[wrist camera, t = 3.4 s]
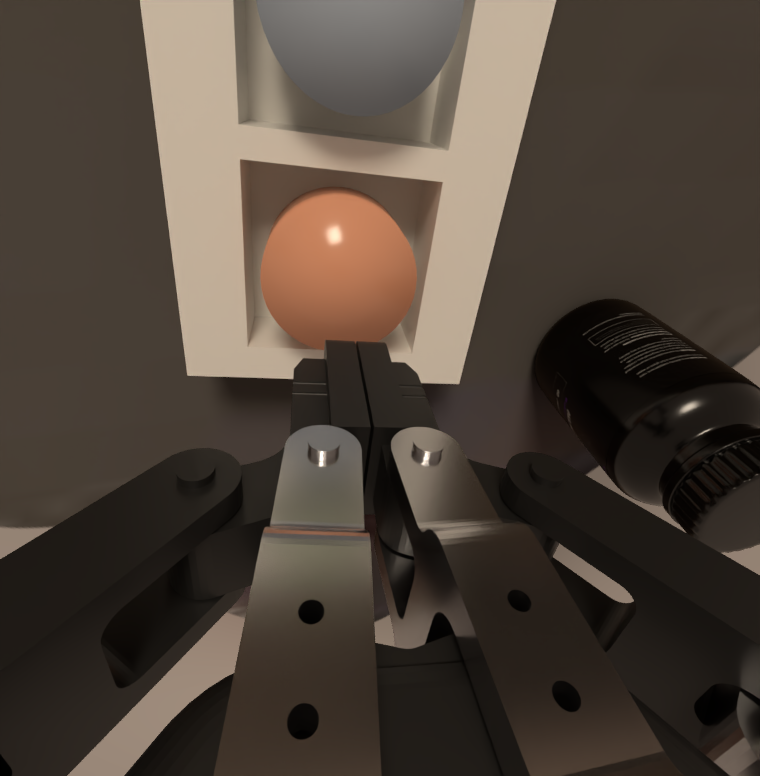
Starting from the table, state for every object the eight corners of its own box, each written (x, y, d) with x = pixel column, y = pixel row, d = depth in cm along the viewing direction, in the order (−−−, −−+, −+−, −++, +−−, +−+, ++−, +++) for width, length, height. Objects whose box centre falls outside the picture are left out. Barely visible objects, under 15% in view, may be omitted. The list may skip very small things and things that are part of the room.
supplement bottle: (510, 388, 27) (630, 564, 17) (568, 281, 23) (759, 422, 14) (604, 408, 29) (762, 576, 19) (670, 311, 25) (905, 454, 15)
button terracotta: (265, 178, 16) (258, 191, 14) (414, 194, 17) (429, 209, 15) (266, 319, 19) (261, 348, 17) (394, 326, 20) (404, 354, 18)
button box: (84, -920, 8) (-58, -1565, 5) (648, -643, 11) (803, -976, 7) (205, 333, 22) (187, 375, 19) (438, 344, 24) (458, 384, 21)
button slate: (259, -144, 12) (249, -194, 10) (458, -99, 13) (487, -136, 11) (263, 101, 15) (256, 102, 13) (425, 122, 16) (443, 127, 14)
